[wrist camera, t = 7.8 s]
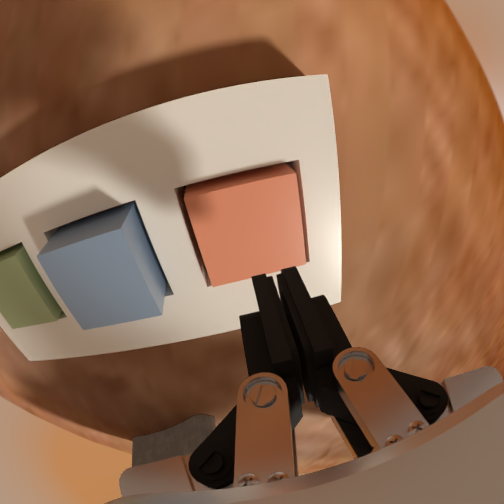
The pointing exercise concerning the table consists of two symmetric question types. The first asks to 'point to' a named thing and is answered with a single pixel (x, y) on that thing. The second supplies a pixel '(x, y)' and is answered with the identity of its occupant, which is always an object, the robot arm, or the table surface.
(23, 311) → the olive green button
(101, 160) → the button board
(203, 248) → the terracotta button
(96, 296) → the slate blue button
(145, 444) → the hip flask
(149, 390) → the table surface
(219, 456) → the robot arm
